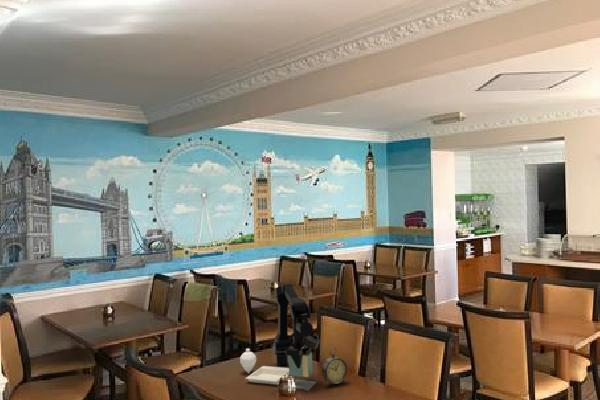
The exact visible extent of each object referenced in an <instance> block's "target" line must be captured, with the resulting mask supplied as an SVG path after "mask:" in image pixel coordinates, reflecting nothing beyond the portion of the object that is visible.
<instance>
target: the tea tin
mask: <svg viewBox="0 0 600 400" xmlns="http://www.w3.org/2000/svg"><path fill="white" fill-rule="evenodd" d="M302 353H304V354H303V355H302V356H301V362H300V368H297V367H296V365H295V363H294V361H293V359H292V357H291V356H289V355H288V363H289V365H288V368H289V375H290V376H295V377H304V378H309V377H311V375H312V374H313V373H314V372H313V352H311V351H307V352H302Z"/></svg>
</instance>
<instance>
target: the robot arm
mask: <svg viewBox="0 0 600 400" xmlns="http://www.w3.org/2000/svg"><path fill="white" fill-rule="evenodd" d="M273 297H274V300H275V301H276V302H277V306H278V307H277V310H278V312H277V313H278V314H277V316H278V317H277V318H278V319H277V321H278V322H277V323H278V324H277V325H278V327H277V328H278V330H277V334H276V335H275V337H274V342H273V345H272V354H274V355H275V356H276V364H274V365H273V367H281V368H287V367H289V356H291V357H292V359H293V361H294V363H295V365H296V367H297V368H300V362H301V356H302V355H303V354H304V353H302V352H309V350H310V349H311V350H314V351H315V350H316V349H318V348H319V344H320V343H321V341H320V338H319V335H317V334H314V336H310V335H312V334H313V331H314V327H313V325H312V323H311V322H309V319H311V316H312V315H311V311H310V307H309V305H308V303H307V302H306V301H305V300H304V299H303V298H301V297H299V296H298V293H297V292H296V291H295V288H294V284H293V283H290V282H289V283H283V284H281V285H280V286H277V287H276V288H275V289H274V290H273ZM288 305H289V306H288ZM288 307H289V308H288ZM288 311H289V314H290V316H291V319H292V333H291V337H293V338H292V339H293V340H292V339H291V337H290V336H289V334H288V332H289V331H288V329H289V327H288V326H289V324H288V321H289V319H288V318H289V317H288V316H289V315H288ZM292 341H293V342H292Z"/></svg>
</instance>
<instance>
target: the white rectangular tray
mask: <svg viewBox="0 0 600 400" xmlns="http://www.w3.org/2000/svg"><path fill="white" fill-rule="evenodd" d="M286 374H288V375H289V367H281V366H268V365H262V366H261V367H259V368H258V369H257V370H255V371H254V372H252V373H250V375H248V376H247V377H245V380H248V382H250V383H258V384H269V385H276V386H277V385H278V386H280V385H279V381H280V378H281V377H282V376H283V375H286Z"/></svg>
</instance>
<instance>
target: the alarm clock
mask: <svg viewBox="0 0 600 400" xmlns="http://www.w3.org/2000/svg"><path fill="white" fill-rule="evenodd" d="M332 349H334V350H335V352H334V353H331V351H332ZM336 353H337V349H336V347H335V346H333V347H331V348H330V349H329V354H330V355H331V356H329V357H327V358H326V359H325V360H324V362H323V364H322V367H321V375H322V377H323V379H324V380H325V381H326V382H328V383H327V386H326V388H329V386H330V384H333V385H338V384H341V383H343V384H345V383H346V382H345V381H344V380H345V379H346V377H347V375H348V366H347V363H346V362H345V360H344V359H342V358H340V357H338V356H335V354H336Z"/></svg>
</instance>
